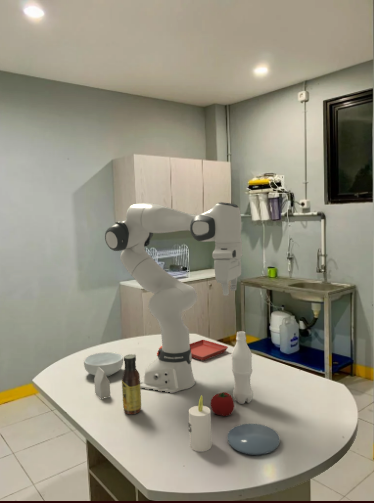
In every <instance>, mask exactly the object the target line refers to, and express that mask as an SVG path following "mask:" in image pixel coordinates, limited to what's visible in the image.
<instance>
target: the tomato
mask: <svg viewBox="0 0 374 503" xmlns="http://www.w3.org/2000/svg"><path fill="white" fill-rule="evenodd" d="M234 401H235V400H234V397H233V395H232V394H231V393H228V392H225V391H224V392H223V391H221V392H220V393H215V395H213V396H212V397H211V400H210V410H211V411H212V413H213V414H215V415H216V416H221V417H229V416H230V415H232V413H233V412H234V409H235V402H234Z"/></svg>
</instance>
